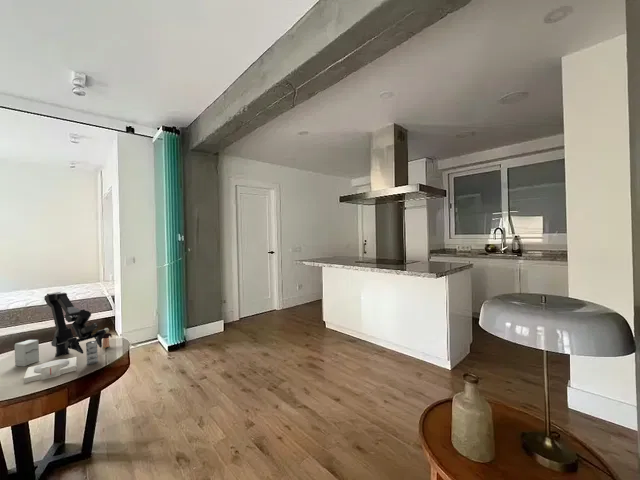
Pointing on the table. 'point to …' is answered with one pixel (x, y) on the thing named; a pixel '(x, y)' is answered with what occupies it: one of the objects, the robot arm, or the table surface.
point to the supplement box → (26, 352)
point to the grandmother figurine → (106, 339)
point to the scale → (50, 369)
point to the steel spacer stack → (91, 352)
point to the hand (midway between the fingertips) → (92, 350)
